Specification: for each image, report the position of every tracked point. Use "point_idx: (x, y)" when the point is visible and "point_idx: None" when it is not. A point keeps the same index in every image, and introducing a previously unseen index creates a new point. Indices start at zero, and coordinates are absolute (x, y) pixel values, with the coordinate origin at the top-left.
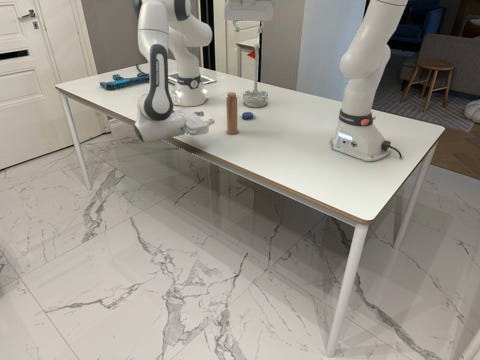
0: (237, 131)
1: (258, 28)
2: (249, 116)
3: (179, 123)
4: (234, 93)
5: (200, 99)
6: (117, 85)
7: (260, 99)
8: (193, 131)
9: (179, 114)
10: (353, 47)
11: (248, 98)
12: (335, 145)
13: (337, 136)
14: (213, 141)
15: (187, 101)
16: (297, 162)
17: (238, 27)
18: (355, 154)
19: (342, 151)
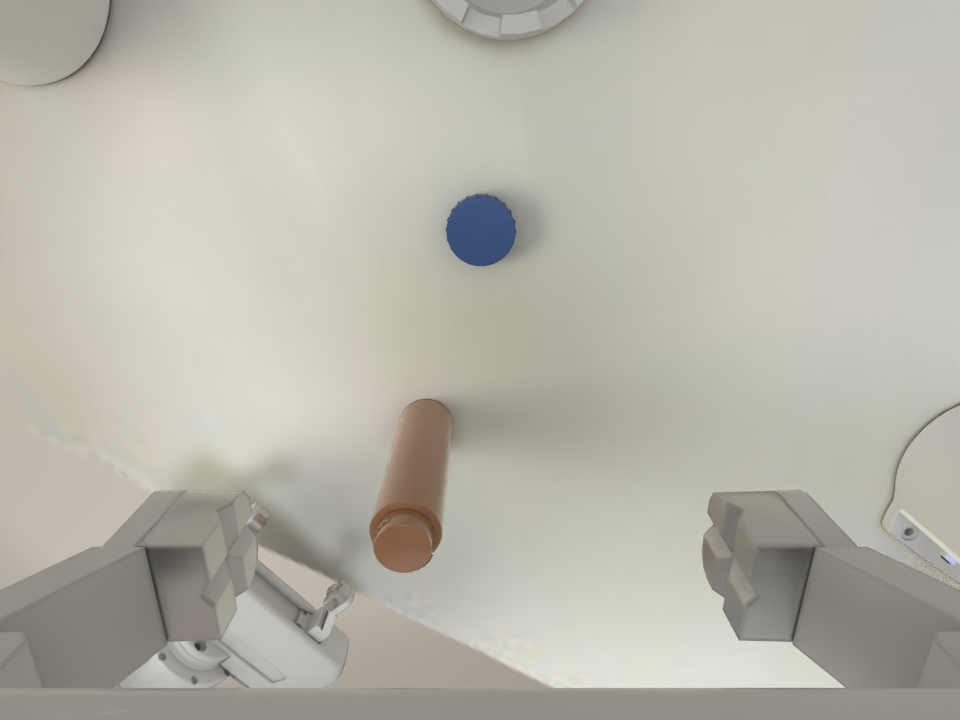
0: (452, 426)
1: (751, 640)
2: (495, 262)
3: None
4: (419, 542)
5: (76, 9)
6: None
7: (556, 17)
8: None
9: (179, 684)
10: None
11: (460, 22)
12: (901, 521)
13: (935, 541)
14: (362, 518)
15: (2, 72)
16: (712, 626)
17: (194, 590)
18: (956, 576)
19: (913, 550)
